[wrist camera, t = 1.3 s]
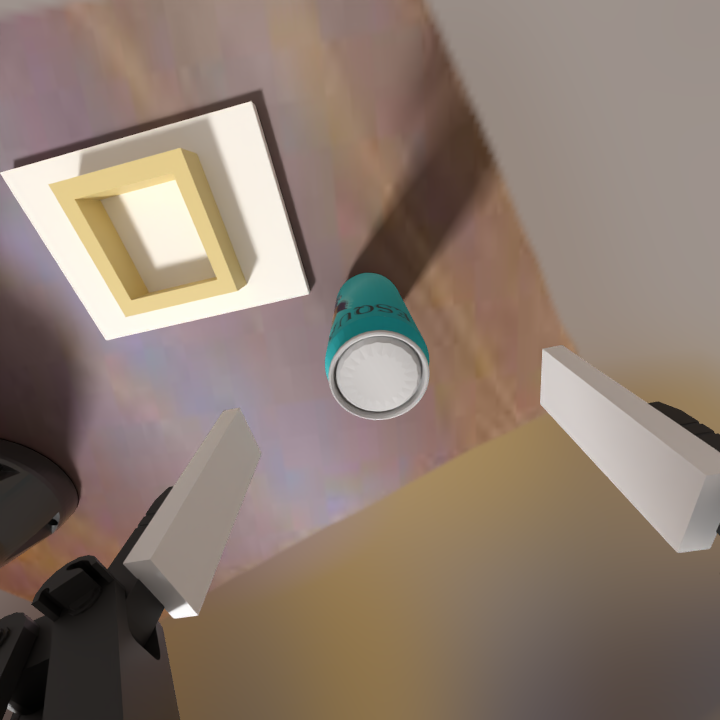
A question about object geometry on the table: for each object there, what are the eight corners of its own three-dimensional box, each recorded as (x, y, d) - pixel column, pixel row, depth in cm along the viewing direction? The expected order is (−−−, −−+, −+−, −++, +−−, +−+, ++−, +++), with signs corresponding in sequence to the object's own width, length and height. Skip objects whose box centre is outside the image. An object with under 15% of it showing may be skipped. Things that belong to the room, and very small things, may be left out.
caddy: (113, 336, 30) (85, 351, 27) (12, 174, 24) (-38, 169, 21) (310, 291, 29) (304, 301, 26) (255, 105, 23) (239, 88, 20)
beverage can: (338, 266, 28) (323, 321, 14) (402, 271, 28) (446, 330, 15) (335, 326, 30) (321, 422, 17) (394, 330, 31) (425, 427, 17)
